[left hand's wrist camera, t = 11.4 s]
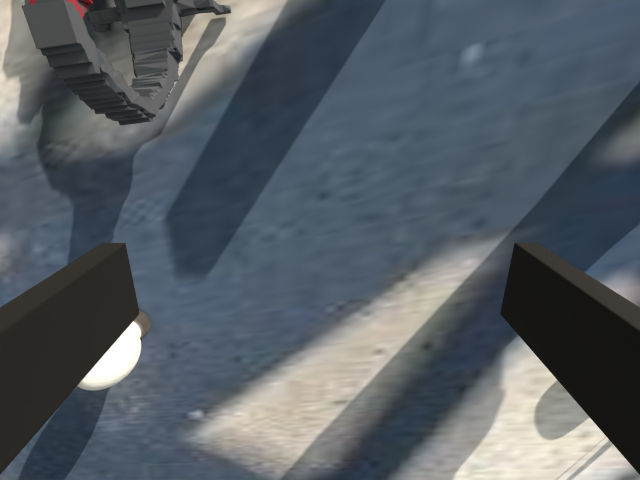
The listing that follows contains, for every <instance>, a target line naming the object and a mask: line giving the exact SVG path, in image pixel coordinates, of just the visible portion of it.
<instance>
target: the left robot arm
mask: <svg viewBox="0 0 640 480" xmlns="http://www.w3.org/2000/svg"><path fill="white" fill-rule="evenodd" d="M139 314H140V313H139V308H138V303H137V298H136V293H135V288H134V283H133V278H132V274H131V269H130V264H129V259H128V254H127V249H126V244H125V243H102V244H100V245H99V246H97V247H96V248H94V249H92V250H91V251H89V252H88V253H86V254H85V255H83V256H81V257H80V258H78V259H77V260H75V261H73V262H72V263H70V264H69V265H67V266H65V267H64V268H62V269H61V270H59V271H58V272H56V273H54V274H53V275H51V276H50V277H48V278H46V279H45V280H43V281H42V282H40V283H39V284H37V285H35V286H34V287H32V288H31V289H29V290H27V291H26V292H24V293H23V294H21V295H20V296H18V297H16V298H15V299H13V300H12V301H10V302H8V303H7V304H5V305H4V306H2V307H1V308H0V474H1V473H2V472H3V471H4V470H5V469H6V467H7V466H8V465H9V464H10V463H11V462H12V461H13V459H14V458H15V457H16V456H17V455H18V454H19V452H20V451H21V450H22V449H23V448H24V447H25V446H26V444H27V443H28V442H29V441H30V440H31V439H32V437H33V436H34V435H35V434H36V433H37V432H38V431H39V429H40V428H41V427H42V426H43V425H44V424H45V422H46V421H47V420H48V419H49V418H50V417H51V416H52V414H53V413H54V412H55V411H56V410H57V409H58V407H59V406H60V405H61V404H62V403H63V402H64V401H65V399H66V398H67V397H68V396H69V395H70V394H71V392H72V391H73V390H74V389H75V388H76V387H77V386H78V384H79V383H80V382H81V381H82V380H83V379H84V378H85V376H86V375H87V374H88V373H89V372H90V371H91V369H92V368H93V367H94V366H95V365H96V364H97V363H98V361H99V360H100V359H101V358H102V357H103V356H104V354H105V353H106V352H107V351H108V350H109V349H110V348H111V346H112V345H113V344H114V343H115V342H116V341H117V339H118V338H119V337H120V336H121V335H122V334H123V333H124V331H125V330H126V329H127V328H128V327H129V326H130V324H131V323H132V322H133V321H134V320H135V319H136V318H137V316H138V315H139ZM500 314H501V315H502V316H503V318H504V319H505V320H506V321H507V322H508V323H509V324H510V326H511V327H512V328H513V329H514V330H515V331H516V333H517V334H518V335H519V336H520V337H521V338H522V339H523V341H524V342H525V343H526V344H527V345H528V346H529V348H530V349H531V350H532V351H533V352H534V353H535V354H536V356H537V357H538V358H539V359H540V360H541V361H542V363H543V364H544V365H545V366H546V367H547V368H548V369H549V371H550V372H551V373H552V374H553V375H554V376H555V378H556V379H557V380H558V381H559V382H560V383H561V384H562V386H563V387H564V388H565V389H566V390H567V391H568V392H569V394H570V395H571V396H572V397H573V398H574V399H575V401H576V402H577V403H578V404H579V405H580V406H581V407H582V409H583V410H584V411H585V412H586V413H587V414H588V416H589V417H590V418H591V419H592V420H593V421H594V422H595V424H596V425H597V426H598V427H599V428H600V429H601V431H602V432H603V433H604V434H605V435H606V436H607V437H608V439H609V440H610V441H611V442H612V443H613V444H614V446H615V447H616V448H617V449H618V450H619V451H620V452H621V454H622V455H623V456H624V457H625V458H626V459H627V461H628V462H629V463H630V464H631V465H632V466H633V467H634V469H635V470H636V471H637V472H638V473H639V474H640V308H639V307H638V306H636V305H635V304H633V303H632V302H630V301H628V300H627V299H625V298H624V297H622V296H620V295H619V294H617V293H616V292H614V291H613V290H611V289H609V288H608V287H606V286H605V285H603V284H601V283H600V282H598V281H597V280H595V279H594V278H592V277H590V276H589V275H587V274H586V273H584V272H582V271H581V270H579V269H578V268H576V267H575V266H573V265H571V264H570V263H568V262H567V261H565V260H563V259H562V258H560V257H559V256H557V255H555V254H554V253H552V252H551V251H549V250H548V249H546V248H544V247H543V246H541V245H540V244H538V243H515V244H514V249H513V254H512V259H511V264H510V269H509V274H508V278H507V283H506V288H505V293H504V298H503V303H502V308H501V313H500Z"/></svg>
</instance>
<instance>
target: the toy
mask: <svg viewBox="0 0 640 480" xmlns="http://www.w3.org/2000/svg"><path fill="white" fill-rule="evenodd" d="M114 1H115V5H116V7H114V8H108V9H102V10H97V11H92V12H89V8H90V7H89V4H93V2H92V0H25V5H24V6H22V8H23V11H24V14H25V17H26V20H27V22H28V25H29V28H30V31H31V34H32V36H33V39H34V42H35V45H36V48H37V49H41V52H42V54H43V55H45V56H47V59H48V62H49V64H50V67H54V69H55V72H56V75H57V78H59V79H64V81H65V85H66V86H67V87H68V88H70V89H71V90H72V91H73V92H74V93H75V95H79V98H80V100H83V101H84V102H85V103H86V104H87V105H88V106H89V107H90V108H91V109H94V110H95V113H96V114H105V115H106V117H107V118H109V119H112V120H114V121H119V124H120V125H127V124H135V123H142V122H150V121H153V118H152V117H155V114H156V113H157V111H158V109H163V107H164V105H165V102H166V98H168V95H169V94H170V91H171V89H172V88H173V86H174V82H175V81H178V78H179V76H178V72H177V71H178V68H179V65H178V64H179V63H180V61H183V51H182V40H181V33H182V24H181V18H180V17H183V16H188V15H193V14H198V13H210V12H213V13H215V14H216V15H220V14H227V13H231V9H230V6H226V5H218V4H217V3H216V2H215V1H214V0H114ZM85 12H88V16H89V20H90V22H91V24H93V25H94V28H95V30H96V31H98V32H103V31H110V28H109V23H110V22H117V21H122V24H123V28H124V30H125V31H126V32H127V33H129V39H130V47H131V53H132V59H133V67H134V74H135V76H136V77H137V78H136V79H132V80H133V82H132V86H128V85H127V83H126V82H125V80H124V78H123V76H122V74H121V72H118V71H115V70H114V69H113V67H112V65H111V63H110V61H109V60H108V58H107V57H106V55H105V54H104V53H103V52H102V51H100V50H99V48H96V45H95V42H94V41H93V40H92V39H91V38H90V36H89V34H88V31H87V28H86V26H85V23H84V20H83V16H84V14H85Z"/></svg>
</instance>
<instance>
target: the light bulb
mask: <svg viewBox="0 0 640 480" xmlns="http://www.w3.org/2000/svg"><path fill="white" fill-rule="evenodd" d="M139 313H140V314H139V315H138V316H137V318H136V319H135V320H134V321H133V322H132V323H131V324H130V326H129V327H128V328H127V329H126V330H125V331H124V333H123V334H122V335H121V336H120V337H119V338H118V339H117V341H116V342H115V343H114V344H113V345H112V346H111V348H110V349H109V350H108V351H107V352H106V353H105V354H104V356H103V357H102V358H101V359H100V360H99V361H98V363H97V364H96V365H95V366H94V367H93V368H92V369H91V371H90V372H89V373H88V374H87V375H86V376H85V378H84V379H83V380H82V381H81V382H80V383H79V384H78V387H80V388H82V389H85V390H102V389H105V388H109V387H111V386H113V385H115V384H117V383H119V382H120V381H121V380H122V379H124V378H125V377H126V376H127V375H128V374H129V373H130V372H131V370H132V369H133V368H134V366H135V365H136V363H137V361H138V358H139V355H140V351H141V339H142V338H143V337H144V335H145V334H146V333H147V331H148V330H149V329H150V327H151V321H150V319H149V317H148V316H147V315H146V314H144V313H143V312H141V311H139Z"/></svg>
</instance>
